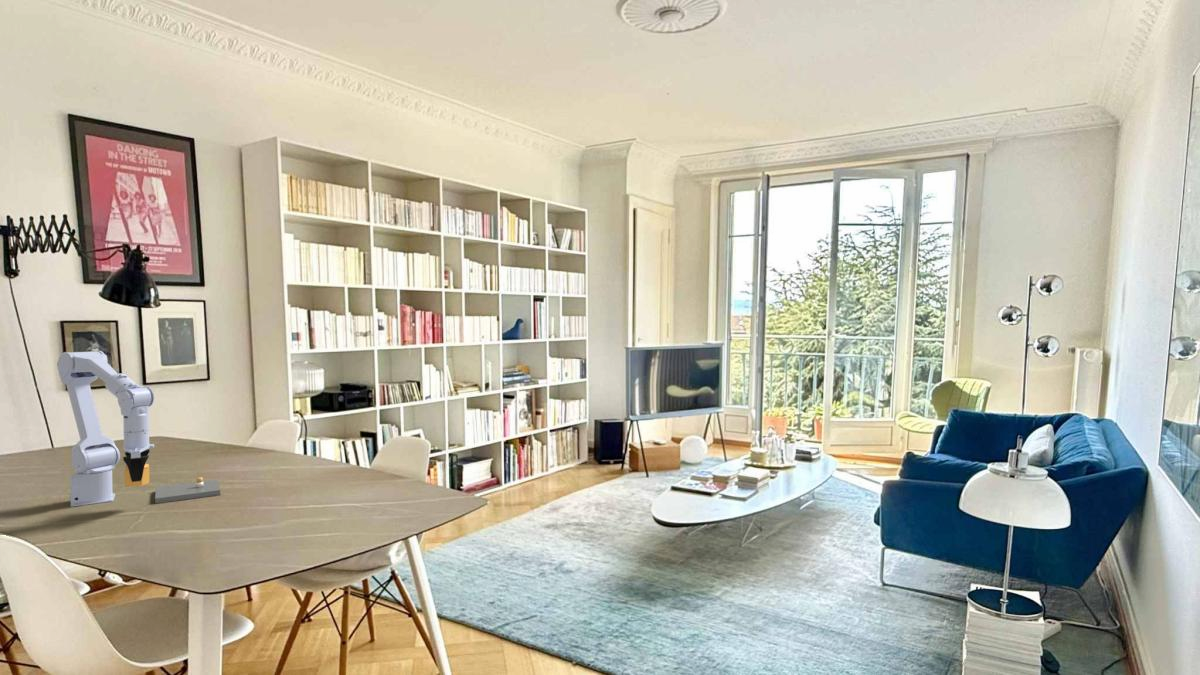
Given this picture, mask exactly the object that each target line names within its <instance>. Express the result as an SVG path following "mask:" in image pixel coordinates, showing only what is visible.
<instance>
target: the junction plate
mask: <svg viewBox="0 0 1200 675" xmlns="http://www.w3.org/2000/svg"><path fill="white" fill-rule="evenodd" d="M214 496H221V488H220V485H219V480H218V479H217V478H216V479H209V480H204V478H203V477H201V476H200V477H196V481H192V482H185V483H176V484H169V485H168V484H167V485H161V486H160V485H159V486H155V495H154V504H164V503H171V502H177V501H184V500H193V499H200V498H201V499H202V498H209V497H214Z"/></svg>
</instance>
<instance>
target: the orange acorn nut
mask: <svg viewBox="0 0 1200 675" xmlns="http://www.w3.org/2000/svg"><path fill="white" fill-rule="evenodd" d="M148 484H150V465H149V463H145V466H144V470H143V476H142V480H141V481H135V482H132V480H131V477H130V473H129V469H128V467H127V465H126V466H124V487H137V486H138V487H139V486H144V485H148Z"/></svg>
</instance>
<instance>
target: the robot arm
mask: <svg viewBox="0 0 1200 675" xmlns="http://www.w3.org/2000/svg"><path fill="white" fill-rule="evenodd" d="M56 367H57V371H58V375H59V378H60V381H61V383H63V384H65V385H66V389H67V393H68V397H69V400H70V404H71V408H72V412H73V416H74V419H75V420H74V421H75V424H76V427H77V430H78V431H77V432H78V435H79V439H80V440H79V441H77V443H75V444H74V445H73V447H72V448H71V449H70V452H71V467H72V468H73V470H75V471H76V472H74V473H73V472H72V473H71V475H70V493H69V499H70V507H79V506H86V505H87V506H88V505H93V504H102V503H111V502H114V500H115V497H116V493H113V469H115V468H116V465H118V463H119V461H120V459H121V452H120V451H119V448H118V447H117V446H116V444H115V439H112V438H110V437H108V436H106V435H104V434H103V430H102V427H101V422H100V419H99V415H98V411H97V408H96V404H95V400H94V397H93V396H94V395H93V391H92V388H91V383H92V382H95V381H97V379H100V380H101V381H103V382H104V383H105V384H104V386H105V388H106V390H107V391H109V392H110V393H111V394H112V395H113V396H114V397H115V398H117V403H118V406H119V408H120V414H121V416H123V418H122V419H123V447H122V450H123V451H124V456H123V458H122V460H123V462H124V463H125V465H126V466H127V467H128V469H129V473H130V477H131V480H132V482H135V481H141V480H142V476H143V470H144V466H145V464H147V463H146V462H147V461H148V460H149V457H150V455H149V453H150V450H151V449H153V448H155V444H154V443H150V407H151V406H153V404H154V400H155V396H154V392H153V390H152V389H151V388H150V386H143V385H142V386H141V385H139V384H137V383H136V382H135V381H134V380H133V379H131V378H130V377H129V376H128V375H127V374H126V373H122V372H121V373H117V371H116V370H115V369H114V368H113V367H112V366H111V365H110V364H109V363H108V356H107V354H105V353H104V351H102V350H96V351H74V352H73V351H72V352H70V351H68V352H67V351H64V352H62V353H61V354H60V355H59V357H58V360H57V362H56Z"/></svg>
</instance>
